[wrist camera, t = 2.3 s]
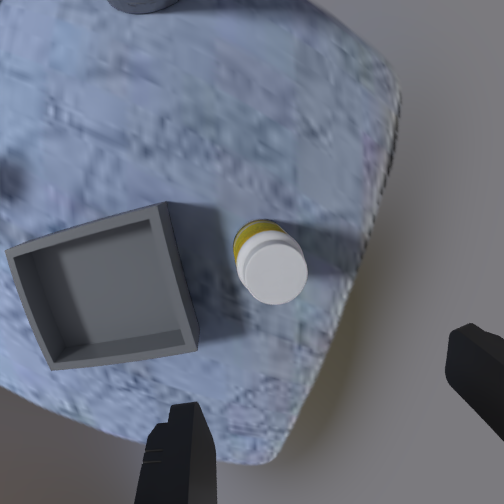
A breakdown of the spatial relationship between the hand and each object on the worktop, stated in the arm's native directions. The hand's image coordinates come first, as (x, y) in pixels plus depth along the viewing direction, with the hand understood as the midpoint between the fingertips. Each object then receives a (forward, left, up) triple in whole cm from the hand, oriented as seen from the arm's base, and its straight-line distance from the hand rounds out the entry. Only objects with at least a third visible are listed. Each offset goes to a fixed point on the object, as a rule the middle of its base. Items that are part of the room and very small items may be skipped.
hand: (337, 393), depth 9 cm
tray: (+1, -14, -20) cm, 25 cm away
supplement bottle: (0, 0, -20) cm, 20 cm away
